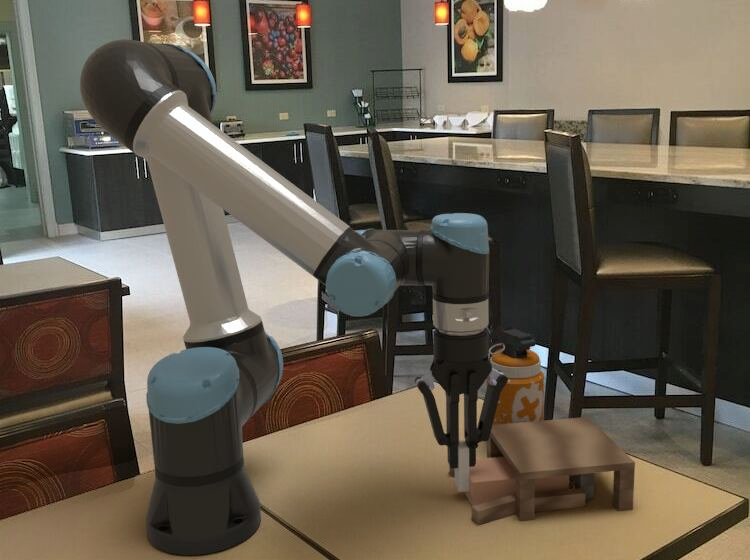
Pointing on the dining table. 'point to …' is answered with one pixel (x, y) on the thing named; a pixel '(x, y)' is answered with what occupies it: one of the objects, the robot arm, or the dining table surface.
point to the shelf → (555, 466)
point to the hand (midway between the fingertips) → (461, 487)
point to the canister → (517, 377)
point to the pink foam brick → (503, 481)
